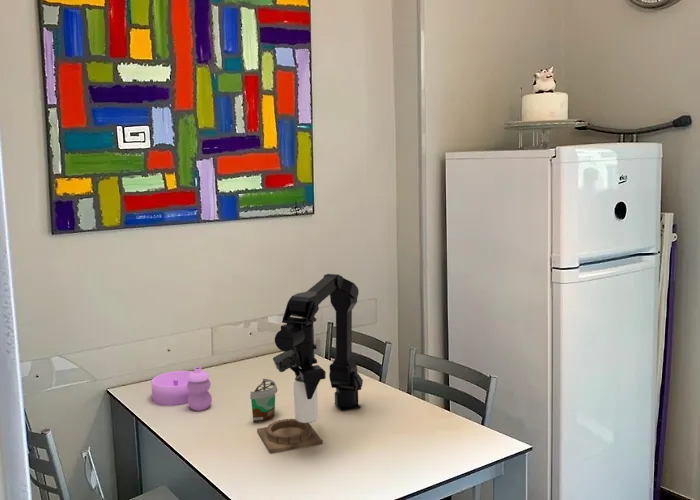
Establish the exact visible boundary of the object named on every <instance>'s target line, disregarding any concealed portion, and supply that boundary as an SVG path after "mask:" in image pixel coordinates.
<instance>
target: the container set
mask: <svg viewBox="0 0 700 500" xmlns="http://www.w3.org/2000/svg"><path fill="white" fill-rule="evenodd" d="M209 379H210V373H208V372H207V371H205V370H202V367H201V366H196V367H194V368H193V371H190V370H174V371H167V372H162V373H161V374H158V375H156V376H155V377H153V378H152V379H151V382H150V384H151V385H150V386H151V397H152V402H153V403H154V404H156V405H158V406H159V405H160V406H165V407H172V406H174V407H175V406H181V405H186V404H188V406H189V407H190V408H191V409H192V410H193V411H197V412H198V411H200V412H201V411H204V410H207V409H209V407H210V406H211V403H212V401H213V397H212V395H211V393H210V392H209V389H210V388H211V381H210V380H209Z"/></svg>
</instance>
